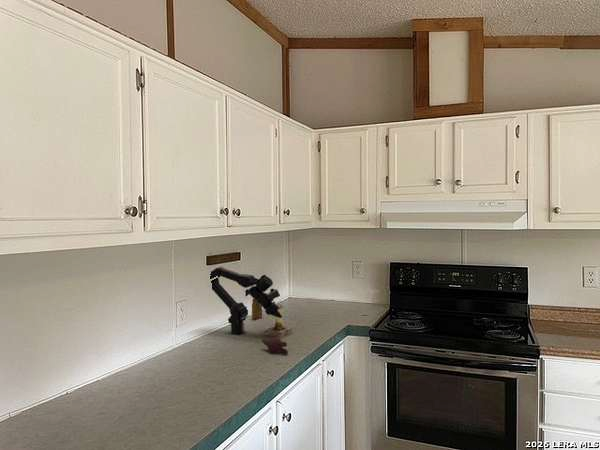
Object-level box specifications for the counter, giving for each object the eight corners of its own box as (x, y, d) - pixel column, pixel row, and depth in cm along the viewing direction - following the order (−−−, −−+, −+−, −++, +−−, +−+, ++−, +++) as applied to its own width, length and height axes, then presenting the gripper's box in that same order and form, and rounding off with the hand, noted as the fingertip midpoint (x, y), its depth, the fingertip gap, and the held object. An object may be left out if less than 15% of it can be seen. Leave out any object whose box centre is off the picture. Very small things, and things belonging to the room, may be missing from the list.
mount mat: (274, 332, 222) (274, 332, 222) (261, 330, 227) (261, 329, 227) (284, 328, 229) (284, 328, 229) (271, 326, 234) (271, 325, 234)
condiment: (258, 316, 258) (258, 297, 258) (266, 319, 251) (266, 299, 251) (248, 318, 253) (248, 298, 253) (256, 321, 247) (256, 300, 247)
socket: (281, 338, 212) (281, 332, 212) (265, 335, 217) (265, 329, 217) (292, 333, 220) (292, 327, 220) (276, 330, 226) (276, 325, 225)
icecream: (255, 337, 192) (281, 346, 183) (265, 329, 197) (291, 337, 189) (257, 350, 194) (282, 360, 185) (267, 343, 199) (292, 351, 191)
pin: (279, 330, 216) (279, 306, 215) (272, 328, 218) (272, 305, 218) (284, 328, 219) (284, 304, 219) (277, 326, 222) (277, 304, 221)
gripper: (272, 287, 208) (294, 308, 210) (268, 281, 227) (289, 301, 229) (256, 304, 207) (279, 325, 209) (254, 296, 225) (274, 316, 228)
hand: (281, 316), depth 219 cm, fingers closed on pin, 4 cm apart
